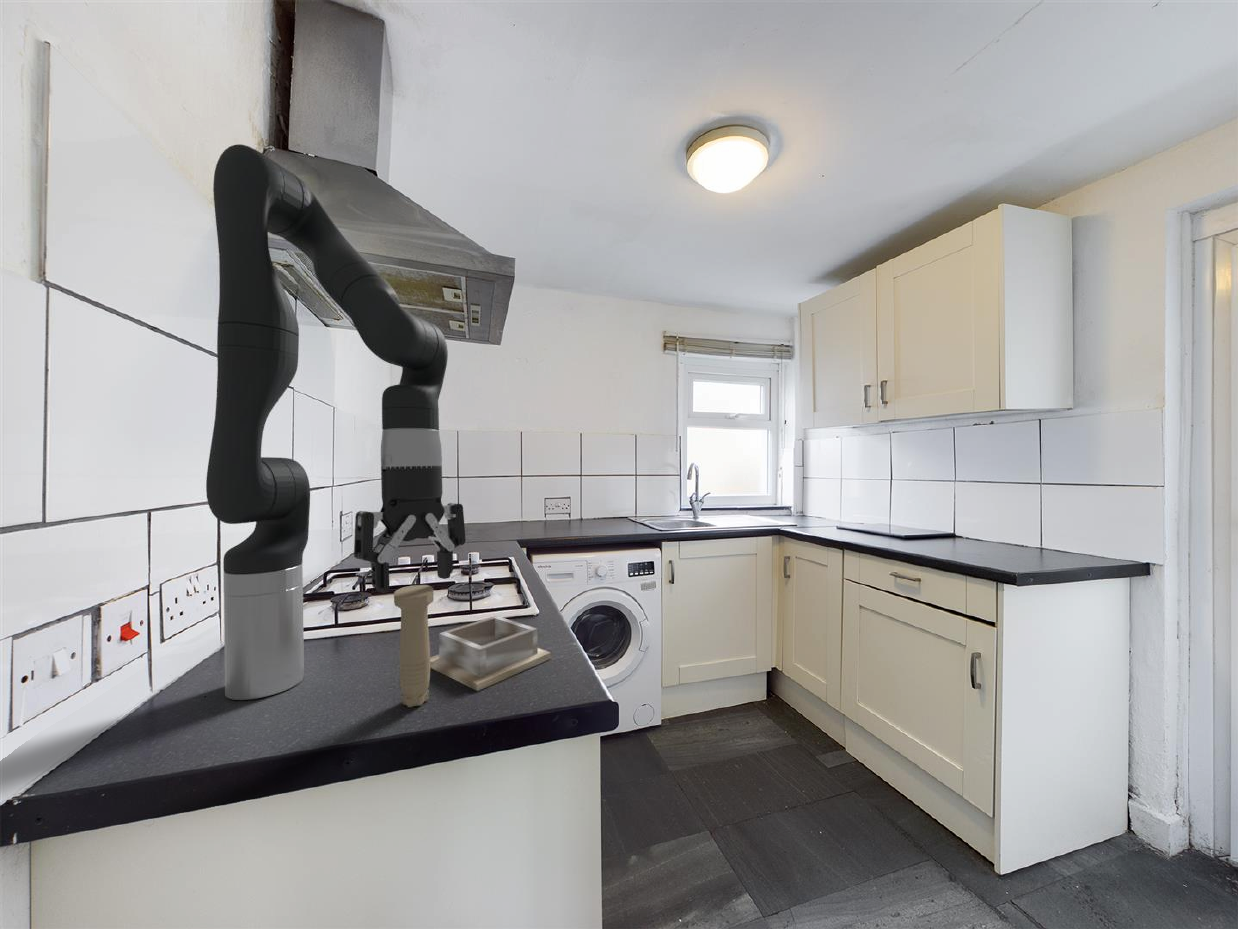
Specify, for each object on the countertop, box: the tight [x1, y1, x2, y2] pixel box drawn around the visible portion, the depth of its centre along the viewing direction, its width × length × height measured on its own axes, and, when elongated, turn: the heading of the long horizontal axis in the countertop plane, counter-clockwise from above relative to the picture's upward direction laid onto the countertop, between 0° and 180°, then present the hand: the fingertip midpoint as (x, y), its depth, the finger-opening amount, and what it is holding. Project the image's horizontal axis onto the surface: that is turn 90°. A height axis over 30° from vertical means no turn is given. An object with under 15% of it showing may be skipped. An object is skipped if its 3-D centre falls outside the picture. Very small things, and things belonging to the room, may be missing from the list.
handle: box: [393, 584, 435, 708], centre depth 64 cm, size 5×6×15 cm
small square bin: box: [430, 615, 552, 692], centre depth 77 cm, size 14×14×5 cm
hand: (414, 584), depth 64 cm, fingers open, 8 cm apart
